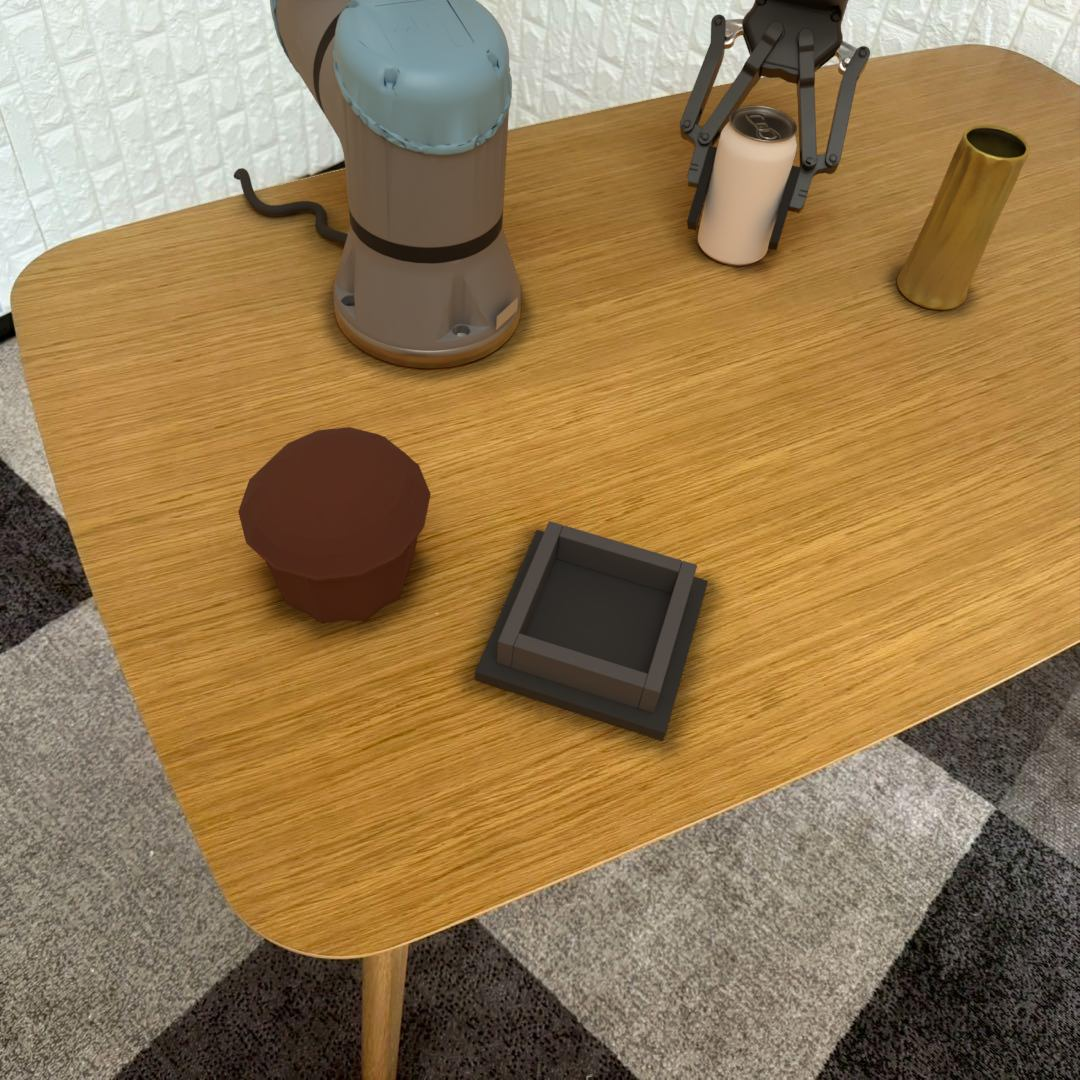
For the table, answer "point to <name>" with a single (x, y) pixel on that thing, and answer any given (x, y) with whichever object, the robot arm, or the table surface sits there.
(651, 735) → the socket pad
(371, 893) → the table surface
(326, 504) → the muffin
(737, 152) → the can
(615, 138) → the table surface
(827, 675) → the table surface
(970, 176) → the vase
